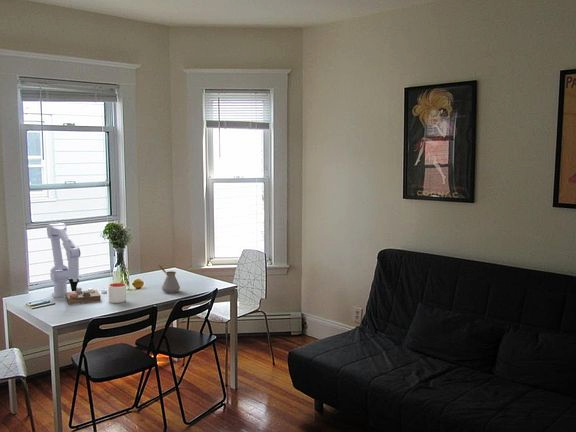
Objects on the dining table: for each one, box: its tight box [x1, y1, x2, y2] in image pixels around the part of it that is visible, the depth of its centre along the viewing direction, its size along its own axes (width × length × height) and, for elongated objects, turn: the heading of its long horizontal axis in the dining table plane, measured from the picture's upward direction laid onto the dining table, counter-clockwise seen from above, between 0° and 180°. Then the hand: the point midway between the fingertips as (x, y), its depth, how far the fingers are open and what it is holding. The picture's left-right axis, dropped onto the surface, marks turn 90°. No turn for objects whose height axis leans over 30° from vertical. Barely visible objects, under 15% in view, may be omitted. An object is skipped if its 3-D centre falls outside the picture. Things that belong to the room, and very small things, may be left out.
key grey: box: [74, 286, 83, 294], centre depth 333 cm, size 3×3×4 cm
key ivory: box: [87, 287, 95, 293], centre depth 336 cm, size 3×3×4 cm
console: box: [64, 289, 102, 305], centre depth 331 cm, size 14×18×4 cm
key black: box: [83, 290, 90, 297], centre depth 329 cm, size 3×3×4 cm
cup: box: [108, 282, 127, 304], centre depth 330 cm, size 10×10×10 cm
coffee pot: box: [157, 264, 181, 294], centre depth 358 cm, size 21×12×15 cm, turn 42°
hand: (73, 291), depth 325 cm, fingers closed
